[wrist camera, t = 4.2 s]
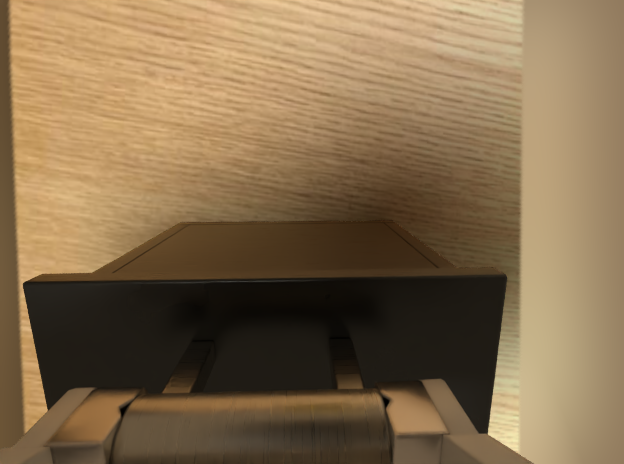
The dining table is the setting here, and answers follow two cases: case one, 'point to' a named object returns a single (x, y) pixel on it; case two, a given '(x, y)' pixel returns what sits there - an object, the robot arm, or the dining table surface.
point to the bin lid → (266, 355)
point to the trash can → (279, 248)
